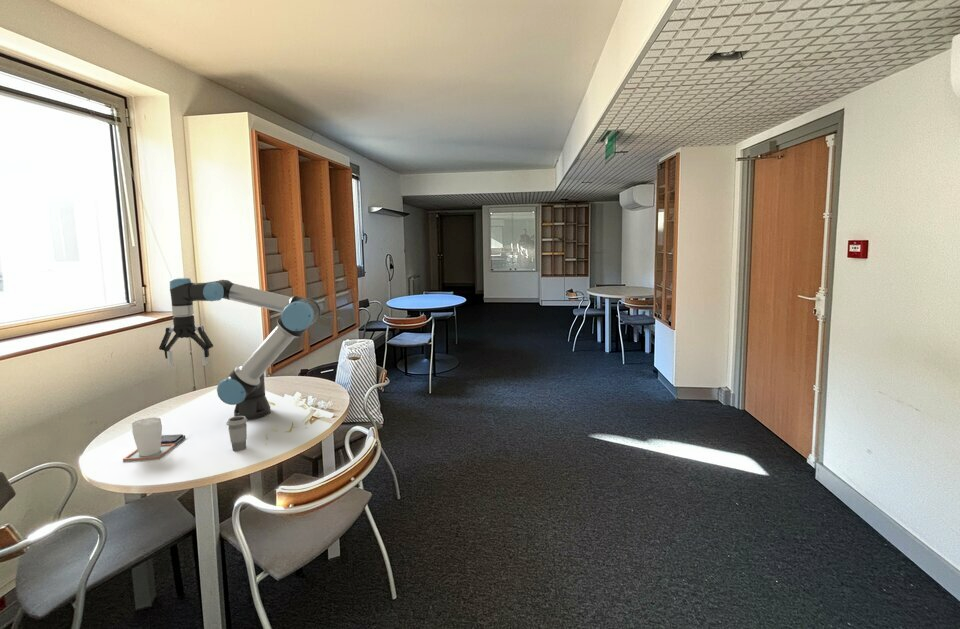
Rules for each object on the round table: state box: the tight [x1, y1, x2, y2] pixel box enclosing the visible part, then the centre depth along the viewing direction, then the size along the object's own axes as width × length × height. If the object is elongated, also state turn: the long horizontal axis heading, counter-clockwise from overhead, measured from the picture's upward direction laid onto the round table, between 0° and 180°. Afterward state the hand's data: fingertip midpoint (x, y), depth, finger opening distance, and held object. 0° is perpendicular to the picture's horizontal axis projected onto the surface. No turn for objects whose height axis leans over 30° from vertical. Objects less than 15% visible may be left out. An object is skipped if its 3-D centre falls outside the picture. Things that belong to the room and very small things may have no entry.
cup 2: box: [226, 416, 248, 452], centre depth 181 cm, size 7×7×12 cm
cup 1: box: [131, 417, 163, 456], centre depth 177 cm, size 9×9×12 cm
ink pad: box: [161, 433, 186, 446], centre depth 188 cm, size 12×8×2 cm, turn 97°
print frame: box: [122, 444, 177, 463], centre depth 178 cm, size 12×12×1 cm
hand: (188, 365), depth 201 cm, fingers open, 13 cm apart
